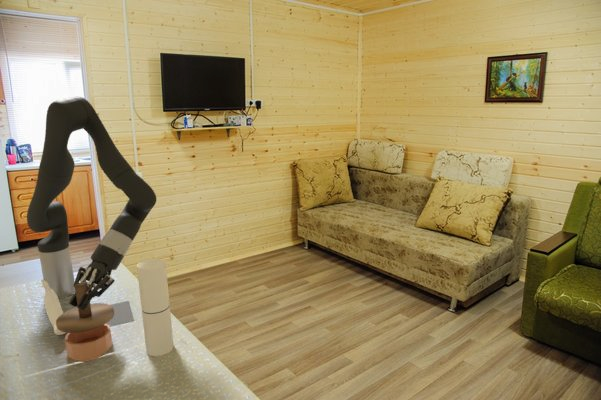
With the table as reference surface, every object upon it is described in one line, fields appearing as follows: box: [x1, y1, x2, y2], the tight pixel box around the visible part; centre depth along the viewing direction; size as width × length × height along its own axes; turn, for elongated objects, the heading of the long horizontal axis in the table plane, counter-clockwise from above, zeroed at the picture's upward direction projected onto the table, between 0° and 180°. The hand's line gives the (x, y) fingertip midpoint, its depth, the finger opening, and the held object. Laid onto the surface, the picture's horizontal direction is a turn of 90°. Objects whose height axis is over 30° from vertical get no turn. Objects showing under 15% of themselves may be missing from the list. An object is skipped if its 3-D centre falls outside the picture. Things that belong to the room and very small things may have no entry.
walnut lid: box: [56, 282, 114, 334], centre depth 112 cm, size 14×14×10 cm
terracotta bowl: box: [64, 324, 113, 363], centre depth 115 cm, size 11×11×5 cm
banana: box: [40, 279, 66, 336], centre depth 123 cm, size 5×19×15 cm, turn 41°
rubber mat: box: [106, 300, 135, 328], centre depth 132 cm, size 15×15×1 cm
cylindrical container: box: [136, 258, 175, 357], centre depth 112 cm, size 7×7×25 cm
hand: (76, 306), depth 110 cm, fingers closed on walnut lid, 3 cm apart
